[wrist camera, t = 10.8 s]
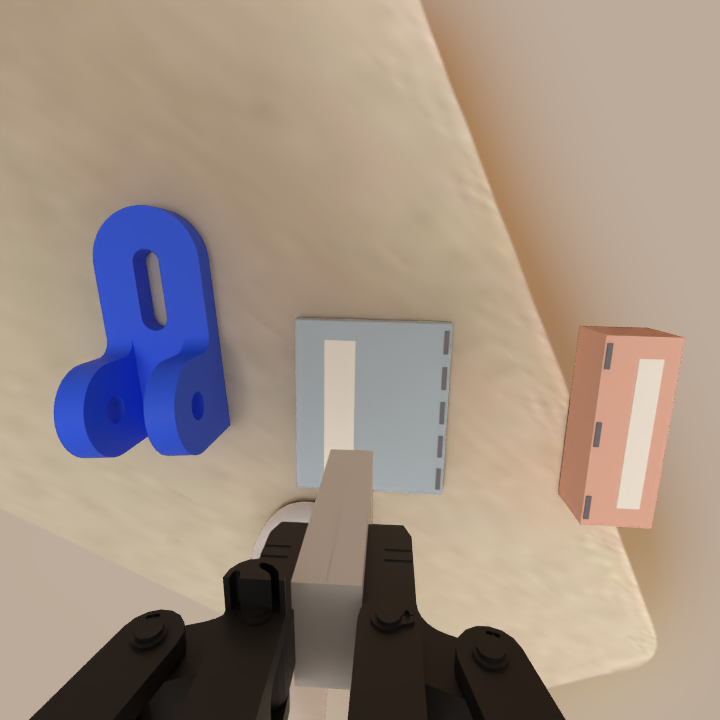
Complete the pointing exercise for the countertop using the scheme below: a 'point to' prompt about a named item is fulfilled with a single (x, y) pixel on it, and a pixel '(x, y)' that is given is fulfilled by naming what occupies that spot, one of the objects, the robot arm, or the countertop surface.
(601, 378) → the stub
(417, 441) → the ticket
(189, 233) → the bracket
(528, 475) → the countertop surface
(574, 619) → the countertop surface
